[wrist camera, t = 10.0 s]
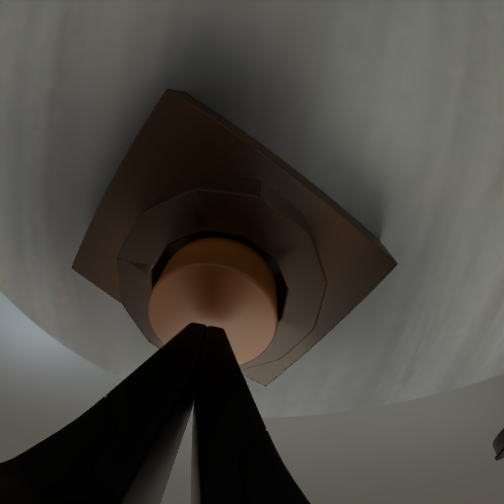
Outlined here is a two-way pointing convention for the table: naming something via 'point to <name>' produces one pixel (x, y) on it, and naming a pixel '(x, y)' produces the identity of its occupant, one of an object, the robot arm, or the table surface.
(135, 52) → the table surface
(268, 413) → the table surface
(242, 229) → the button block
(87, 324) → the table surface
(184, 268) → the button
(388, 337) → the table surface
